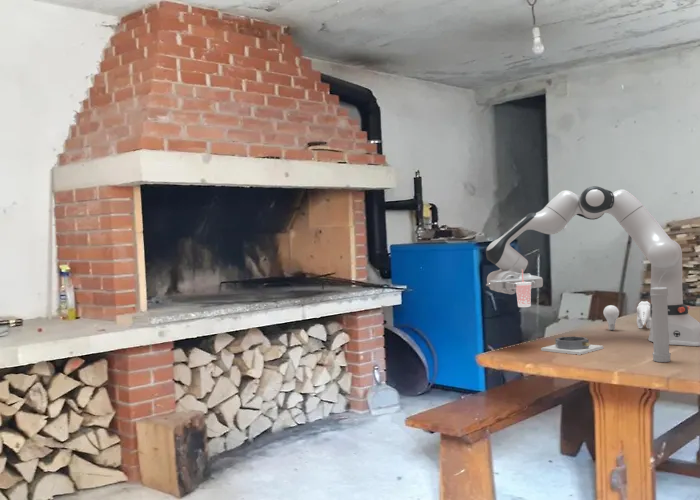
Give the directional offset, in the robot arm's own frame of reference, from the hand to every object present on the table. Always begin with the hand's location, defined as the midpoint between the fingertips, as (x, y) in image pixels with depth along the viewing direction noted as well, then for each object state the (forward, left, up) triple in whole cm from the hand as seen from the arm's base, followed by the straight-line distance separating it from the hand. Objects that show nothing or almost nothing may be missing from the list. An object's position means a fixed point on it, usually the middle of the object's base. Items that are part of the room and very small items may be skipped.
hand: (524, 285), depth 253 cm
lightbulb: (0, -60, -25) cm, 65 cm away
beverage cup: (+1, -1, -8) cm, 8 cm away
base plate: (-11, -12, -25) cm, 30 cm away
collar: (-11, -12, -25) cm, 30 cm away
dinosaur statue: (-8, -73, -25) cm, 78 cm away
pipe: (-46, -10, -25) cm, 54 cm away
